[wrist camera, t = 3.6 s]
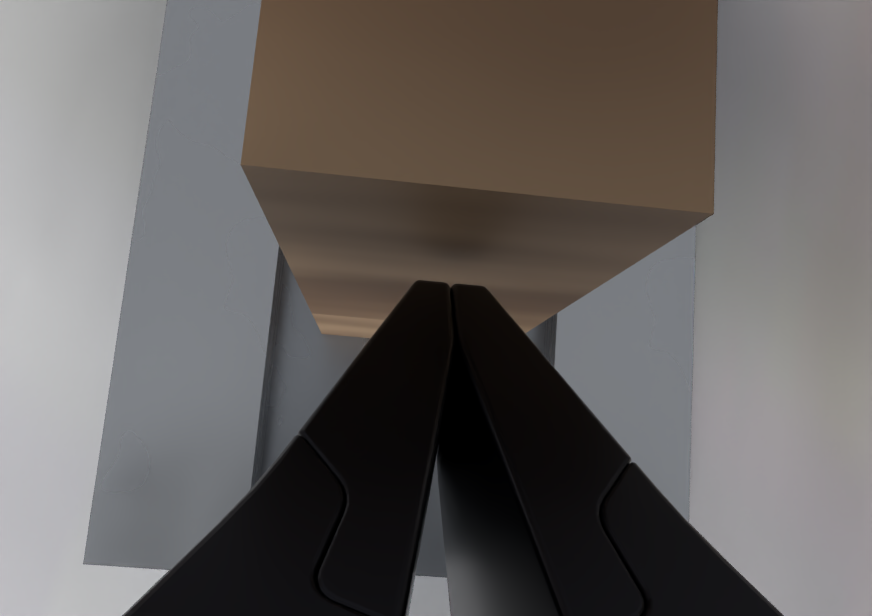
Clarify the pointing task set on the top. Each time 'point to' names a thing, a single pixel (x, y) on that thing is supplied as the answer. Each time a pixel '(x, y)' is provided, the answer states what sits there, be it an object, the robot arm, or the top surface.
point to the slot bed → (305, 327)
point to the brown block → (477, 145)
